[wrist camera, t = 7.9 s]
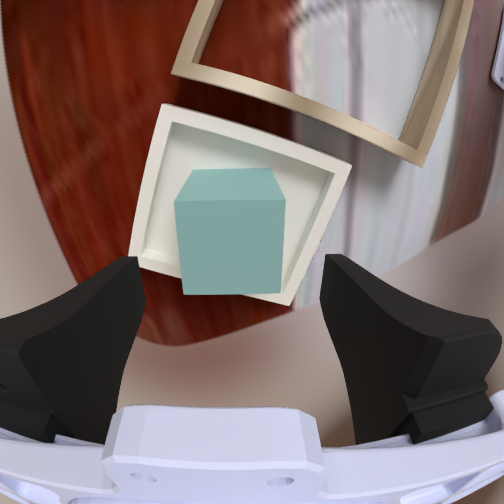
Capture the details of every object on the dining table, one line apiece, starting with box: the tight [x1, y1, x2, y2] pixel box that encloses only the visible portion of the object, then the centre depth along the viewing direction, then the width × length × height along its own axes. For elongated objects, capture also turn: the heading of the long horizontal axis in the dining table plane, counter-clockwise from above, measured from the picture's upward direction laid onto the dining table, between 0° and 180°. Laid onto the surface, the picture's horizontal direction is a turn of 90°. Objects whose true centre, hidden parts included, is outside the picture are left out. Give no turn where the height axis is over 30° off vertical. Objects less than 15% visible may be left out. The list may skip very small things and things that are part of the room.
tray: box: [128, 104, 352, 306], centre depth 19 cm, size 11×10×2 cm
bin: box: [171, 0, 474, 168], centre depth 13 cm, size 15×15×2 cm
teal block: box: [174, 168, 286, 295], centre depth 16 cm, size 4×4×6 cm
